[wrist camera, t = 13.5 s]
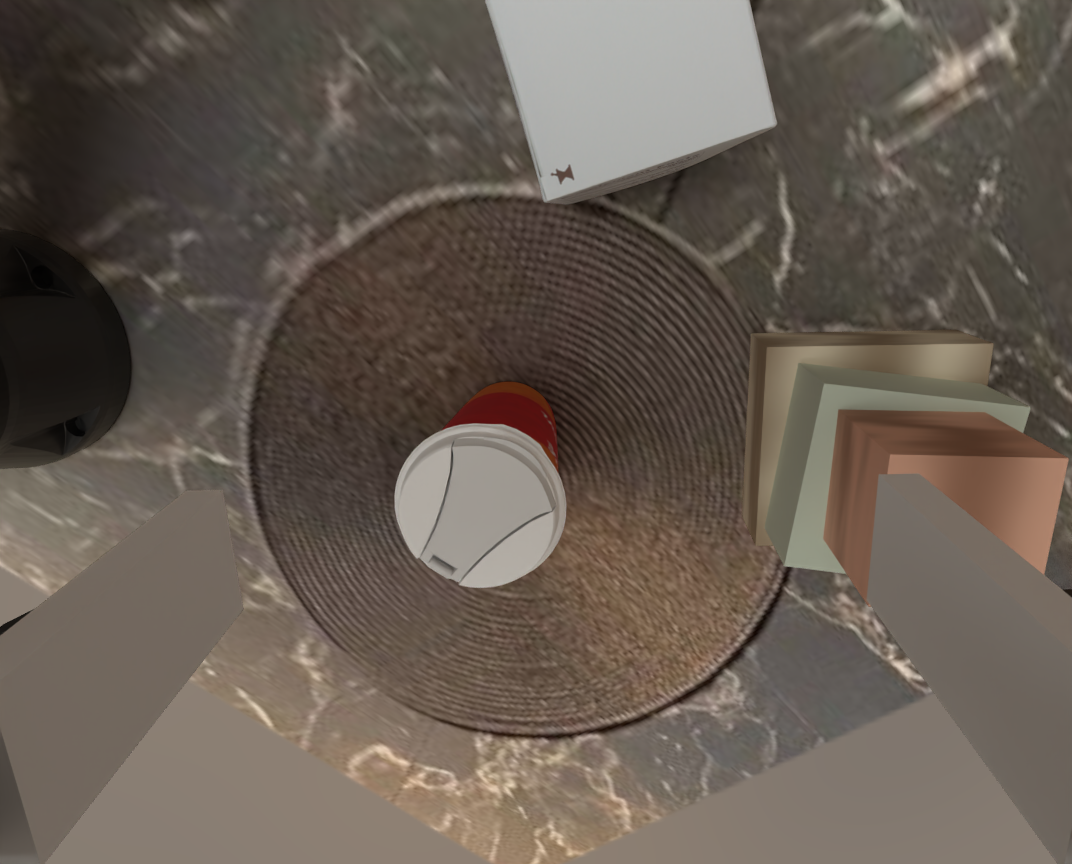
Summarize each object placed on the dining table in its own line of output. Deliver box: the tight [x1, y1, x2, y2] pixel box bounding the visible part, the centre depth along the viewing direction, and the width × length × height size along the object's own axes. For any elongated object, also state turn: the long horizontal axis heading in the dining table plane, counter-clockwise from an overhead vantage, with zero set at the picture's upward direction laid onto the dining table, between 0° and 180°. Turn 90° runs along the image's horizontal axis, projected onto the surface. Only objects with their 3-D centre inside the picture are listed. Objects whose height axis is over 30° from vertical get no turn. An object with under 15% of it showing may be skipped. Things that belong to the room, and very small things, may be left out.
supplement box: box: [485, 0, 777, 205], centre depth 36 cm, size 10×9×17 cm
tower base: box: [742, 330, 994, 546], centre depth 46 cm, size 12×12×5 cm
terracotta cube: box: [823, 409, 1069, 607], centre depth 36 cm, size 7×7×7 cm
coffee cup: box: [395, 382, 566, 588], centre depth 42 cm, size 8×8×15 cm
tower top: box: [764, 363, 1031, 574], centre depth 42 cm, size 10×10×5 cm
